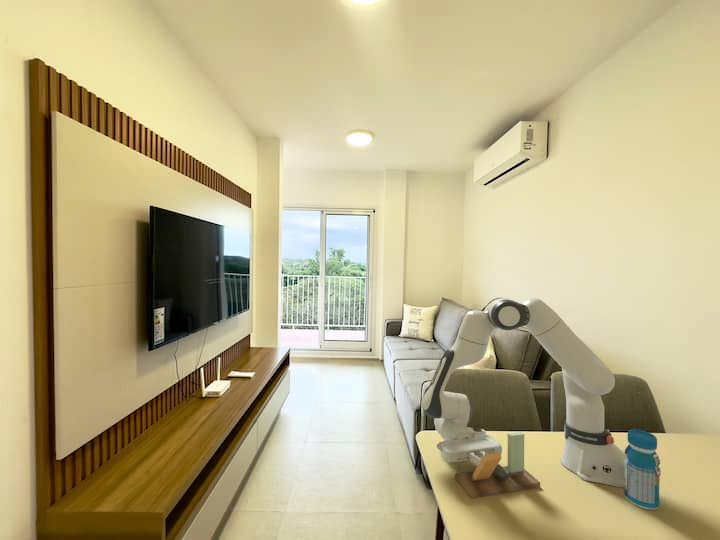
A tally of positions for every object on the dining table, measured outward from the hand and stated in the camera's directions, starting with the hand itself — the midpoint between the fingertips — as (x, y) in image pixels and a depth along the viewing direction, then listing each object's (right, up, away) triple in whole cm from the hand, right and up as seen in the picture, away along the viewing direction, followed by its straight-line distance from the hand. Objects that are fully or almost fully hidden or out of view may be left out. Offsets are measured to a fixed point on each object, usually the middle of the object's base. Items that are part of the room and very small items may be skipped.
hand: (484, 462), depth 106 cm
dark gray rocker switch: (+6, -7, +4) cm, 10 cm away
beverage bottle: (+45, -9, -5) cm, 46 cm away
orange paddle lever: (0, -6, +2) cm, 7 cm away
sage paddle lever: (+12, -6, +5) cm, 15 cm away
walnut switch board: (+5, -8, +4) cm, 11 cm away
